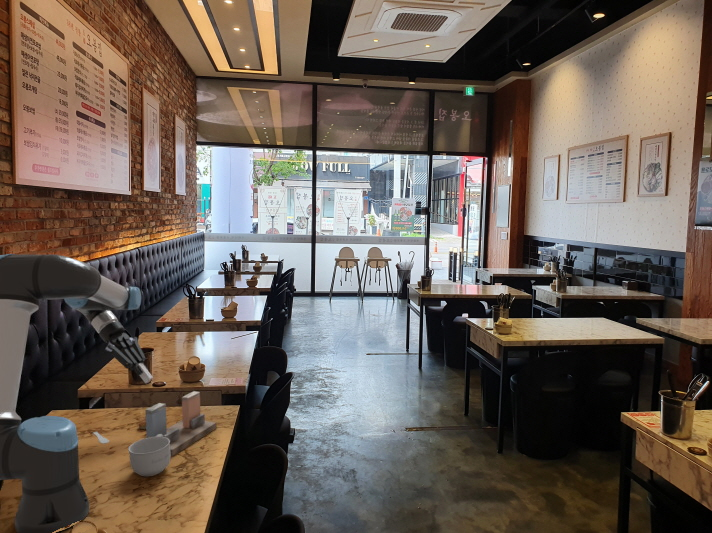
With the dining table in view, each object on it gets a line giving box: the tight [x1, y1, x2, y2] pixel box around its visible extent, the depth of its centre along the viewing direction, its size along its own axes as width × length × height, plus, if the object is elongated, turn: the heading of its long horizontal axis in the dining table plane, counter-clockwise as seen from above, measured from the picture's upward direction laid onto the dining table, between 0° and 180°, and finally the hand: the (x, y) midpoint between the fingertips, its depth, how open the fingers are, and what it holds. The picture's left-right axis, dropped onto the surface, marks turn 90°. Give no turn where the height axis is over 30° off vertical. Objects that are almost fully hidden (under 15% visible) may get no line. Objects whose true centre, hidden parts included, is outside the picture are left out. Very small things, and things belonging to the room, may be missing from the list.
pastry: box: [138, 415, 168, 430], centre depth 180 cm, size 9×7×4 cm
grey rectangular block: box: [145, 402, 168, 438], centre depth 164 cm, size 6×2×10 cm, turn 160°
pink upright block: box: [181, 390, 201, 428], centre depth 175 cm, size 6×2×10 cm, turn 160°
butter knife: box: [92, 431, 110, 445], centre depth 175 cm, size 1×24×3 cm
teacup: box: [127, 434, 172, 477], centre depth 149 cm, size 14×11×8 cm
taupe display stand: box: [163, 413, 217, 457], centre depth 169 cm, size 22×12×5 cm, turn 160°
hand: (149, 380), depth 178 cm, fingers closed
